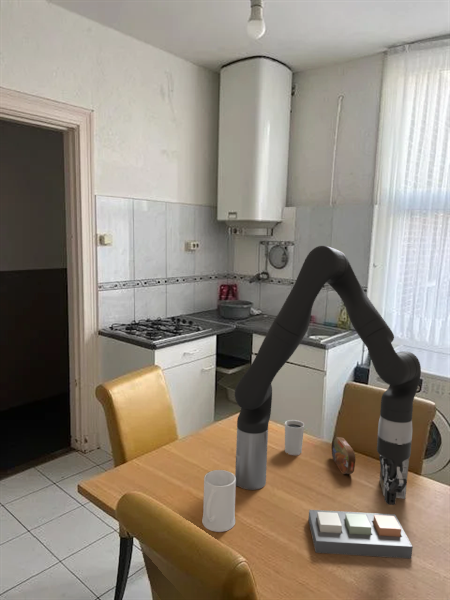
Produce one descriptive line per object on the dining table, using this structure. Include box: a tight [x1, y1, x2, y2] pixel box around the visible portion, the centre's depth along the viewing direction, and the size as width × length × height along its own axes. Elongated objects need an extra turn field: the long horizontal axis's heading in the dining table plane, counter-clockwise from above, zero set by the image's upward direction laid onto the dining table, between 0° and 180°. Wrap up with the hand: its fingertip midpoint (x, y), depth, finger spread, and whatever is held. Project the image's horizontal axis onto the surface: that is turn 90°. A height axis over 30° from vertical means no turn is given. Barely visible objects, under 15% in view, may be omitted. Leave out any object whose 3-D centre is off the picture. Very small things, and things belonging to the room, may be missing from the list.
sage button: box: [345, 513, 371, 535], centre depth 107 cm, size 5×5×3 cm
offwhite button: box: [317, 512, 342, 533], centre depth 107 cm, size 5×5×3 cm
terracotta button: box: [373, 515, 401, 537], centre depth 106 cm, size 5×5×3 cm
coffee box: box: [379, 457, 410, 500], centre depth 128 cm, size 9×6×16 cm
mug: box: [201, 469, 237, 533], centre depth 110 cm, size 12×8×12 cm
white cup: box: [284, 419, 305, 456], centre depth 150 cm, size 7×7×10 cm
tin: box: [331, 436, 356, 475], centre depth 141 cm, size 15×3×8 cm, turn 5°
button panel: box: [308, 509, 413, 559], centre depth 107 cm, size 22×12×3 cm, turn 87°
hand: (389, 503), depth 106 cm, fingers closed
